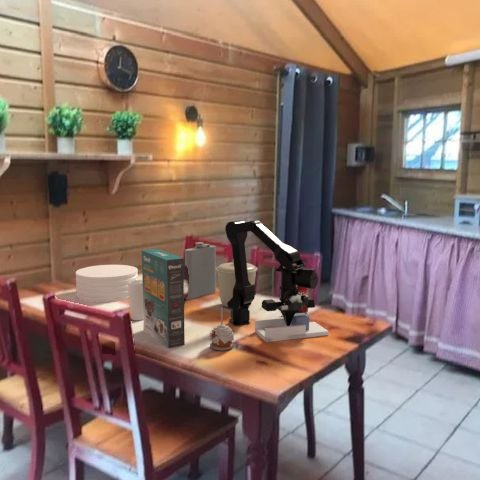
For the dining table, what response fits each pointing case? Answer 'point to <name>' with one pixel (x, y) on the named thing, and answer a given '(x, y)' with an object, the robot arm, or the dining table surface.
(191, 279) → the flask
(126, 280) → the plate stack
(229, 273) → the canister
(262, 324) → the trap channel
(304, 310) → the soda can
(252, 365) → the dining table surface
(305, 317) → the blue-gray block
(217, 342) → the decorative ornament
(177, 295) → the cake mix box
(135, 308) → the white cylinder
